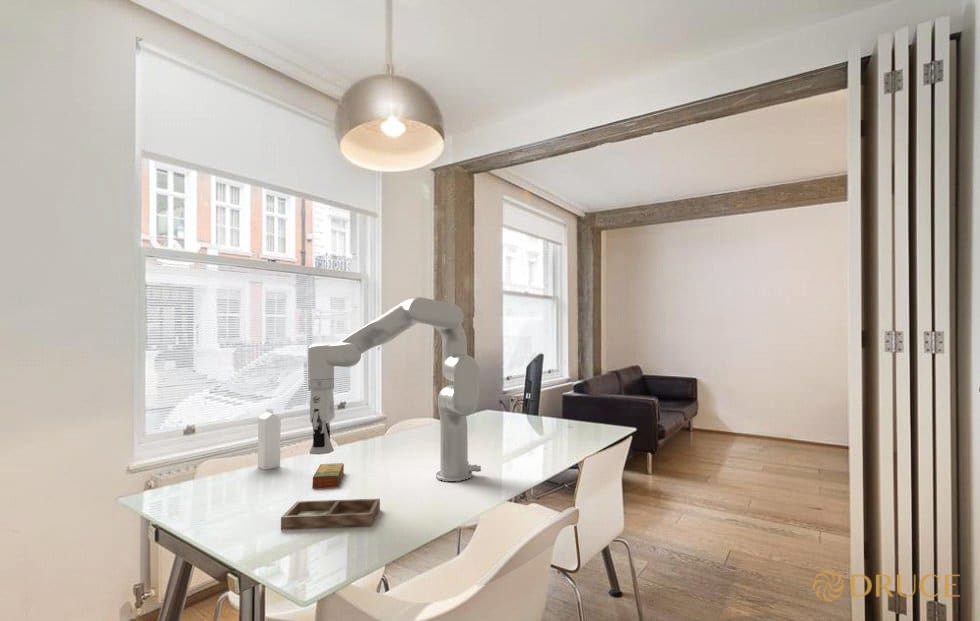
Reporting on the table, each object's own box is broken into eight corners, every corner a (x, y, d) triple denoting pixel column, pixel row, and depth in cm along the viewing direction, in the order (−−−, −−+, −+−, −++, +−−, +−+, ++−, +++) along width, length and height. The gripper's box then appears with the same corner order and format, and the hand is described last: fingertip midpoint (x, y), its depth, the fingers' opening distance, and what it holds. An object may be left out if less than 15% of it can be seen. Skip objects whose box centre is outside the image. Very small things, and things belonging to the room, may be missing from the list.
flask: (313, 450, 149) (312, 417, 150) (336, 449, 150) (336, 416, 150) (306, 456, 142) (305, 421, 142) (331, 454, 143) (330, 420, 143)
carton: (344, 474, 173) (344, 462, 174) (338, 488, 158) (338, 474, 158) (319, 475, 172) (320, 463, 172) (311, 489, 156) (312, 476, 156)
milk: (264, 470, 179) (264, 410, 180) (257, 467, 183) (258, 409, 184) (280, 466, 183) (280, 408, 184) (273, 464, 187) (273, 407, 188)
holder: (379, 509, 136) (379, 498, 136) (371, 526, 124) (371, 514, 124) (297, 512, 135) (297, 501, 135) (280, 529, 123) (281, 517, 123)
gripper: (325, 387, 138) (326, 451, 138) (340, 381, 155) (341, 438, 155) (299, 388, 138) (299, 452, 137) (317, 382, 155) (317, 439, 154)
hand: (321, 444), depth 146 cm, fingers closed on flask, 4 cm apart
